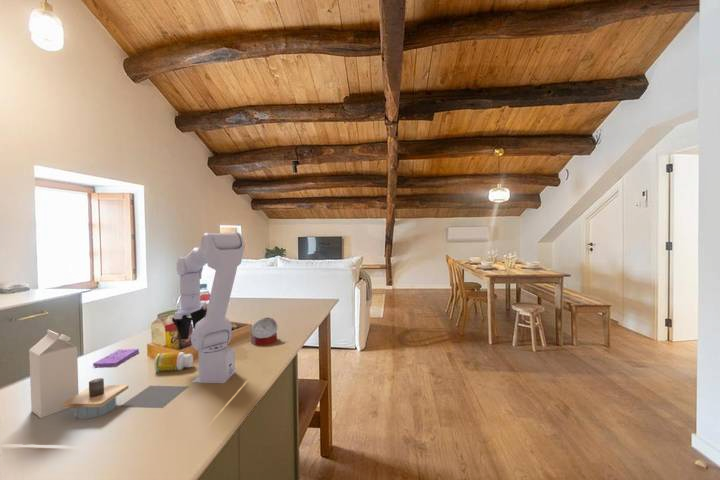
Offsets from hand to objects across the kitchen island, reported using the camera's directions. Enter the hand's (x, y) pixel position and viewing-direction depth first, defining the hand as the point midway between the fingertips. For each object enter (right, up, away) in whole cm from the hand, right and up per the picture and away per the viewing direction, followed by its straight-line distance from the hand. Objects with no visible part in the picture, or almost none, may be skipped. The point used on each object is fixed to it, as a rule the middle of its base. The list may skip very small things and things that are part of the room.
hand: (191, 335), depth 109 cm
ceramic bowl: (-9, -10, -28) cm, 31 cm away
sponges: (-28, -10, +5) cm, 30 cm away
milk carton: (-20, -11, -27) cm, 35 cm away
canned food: (+17, -9, +22) cm, 30 cm away
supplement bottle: (-8, -7, -5) cm, 12 cm away
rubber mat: (+2, -10, -22) cm, 24 cm away
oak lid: (-8, -7, -28) cm, 30 cm away
